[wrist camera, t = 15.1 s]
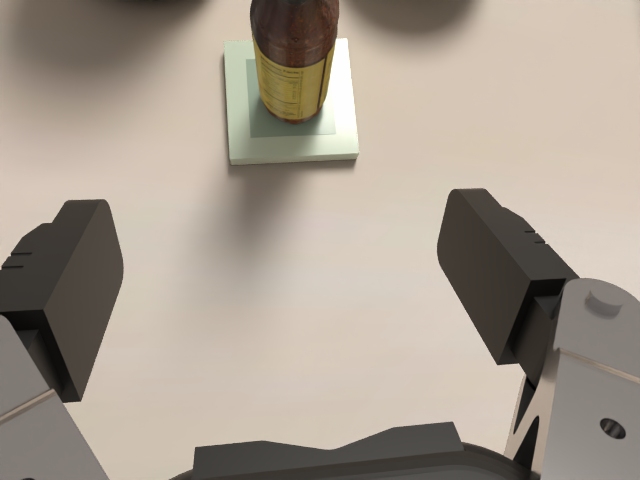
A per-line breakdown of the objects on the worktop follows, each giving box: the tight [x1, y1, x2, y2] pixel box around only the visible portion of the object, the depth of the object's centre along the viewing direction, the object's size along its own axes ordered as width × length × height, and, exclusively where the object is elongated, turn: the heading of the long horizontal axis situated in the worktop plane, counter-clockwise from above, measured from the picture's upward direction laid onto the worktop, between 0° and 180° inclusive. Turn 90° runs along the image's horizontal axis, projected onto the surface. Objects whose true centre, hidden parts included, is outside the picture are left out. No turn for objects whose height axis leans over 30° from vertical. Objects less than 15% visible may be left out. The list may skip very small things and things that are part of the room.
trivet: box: [224, 39, 359, 165], centre depth 44 cm, size 12×12×2 cm
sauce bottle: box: [250, 0, 339, 124], centre depth 33 cm, size 6×6×20 cm
